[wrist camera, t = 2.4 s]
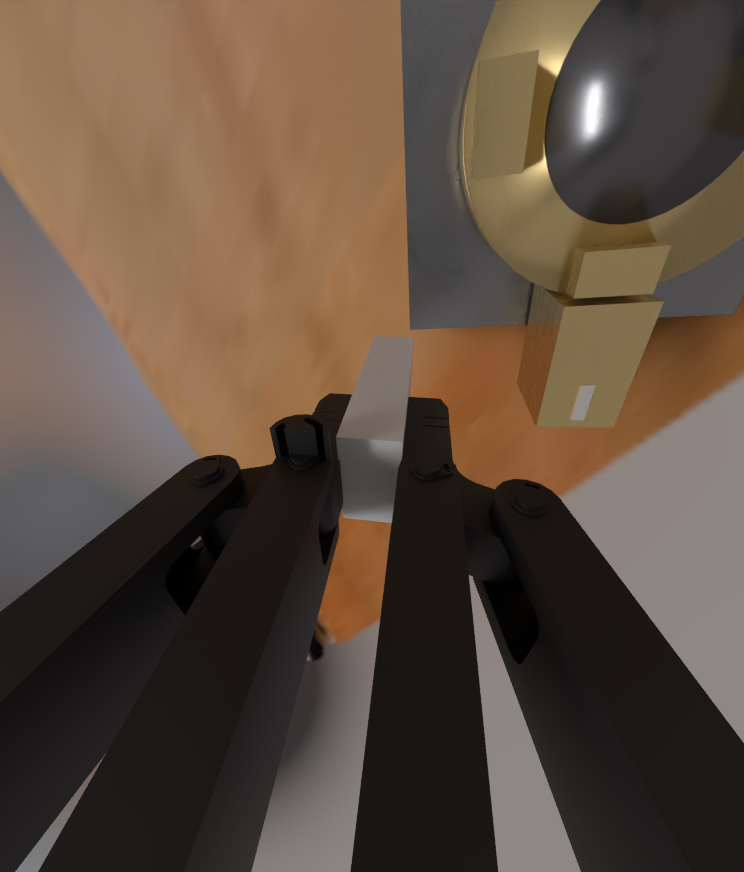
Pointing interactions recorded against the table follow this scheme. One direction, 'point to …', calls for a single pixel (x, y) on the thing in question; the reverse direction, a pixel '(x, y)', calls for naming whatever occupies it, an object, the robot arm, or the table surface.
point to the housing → (446, 205)
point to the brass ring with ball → (602, 176)
